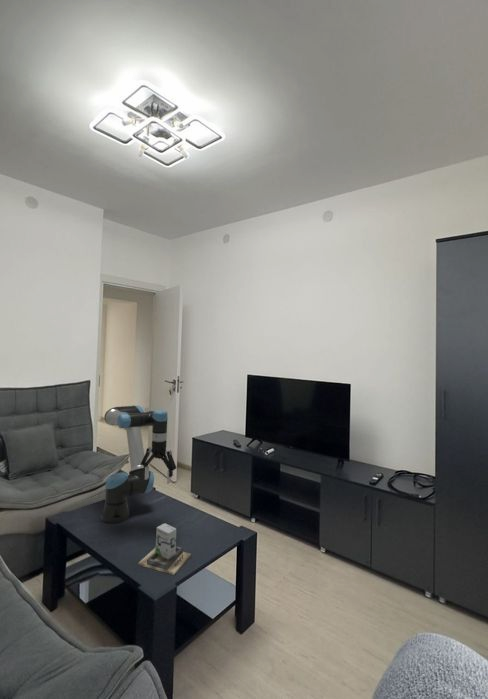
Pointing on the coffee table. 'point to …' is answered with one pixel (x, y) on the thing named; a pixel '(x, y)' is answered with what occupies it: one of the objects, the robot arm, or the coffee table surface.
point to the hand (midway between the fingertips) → (157, 480)
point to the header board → (165, 561)
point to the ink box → (166, 541)
